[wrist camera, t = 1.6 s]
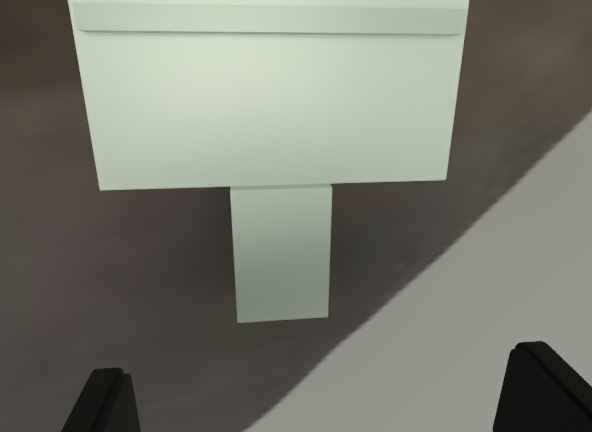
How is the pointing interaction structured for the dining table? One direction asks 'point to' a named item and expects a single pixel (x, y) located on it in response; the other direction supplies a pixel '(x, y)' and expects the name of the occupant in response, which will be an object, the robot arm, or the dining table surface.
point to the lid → (270, 115)
